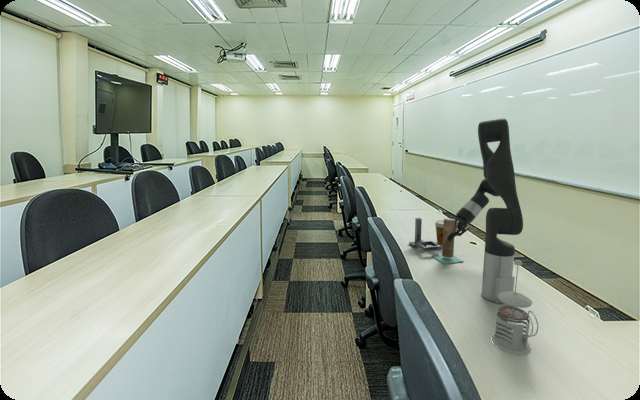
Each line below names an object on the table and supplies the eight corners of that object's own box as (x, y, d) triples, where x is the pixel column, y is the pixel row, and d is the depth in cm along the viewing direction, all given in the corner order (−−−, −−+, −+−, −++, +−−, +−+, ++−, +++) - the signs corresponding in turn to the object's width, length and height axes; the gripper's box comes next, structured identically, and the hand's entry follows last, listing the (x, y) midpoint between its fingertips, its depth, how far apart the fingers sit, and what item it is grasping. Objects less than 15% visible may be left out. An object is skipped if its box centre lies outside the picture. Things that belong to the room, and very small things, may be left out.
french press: (509, 330, 93) (517, 251, 88) (546, 355, 82) (557, 267, 77) (482, 336, 90) (488, 256, 86) (517, 363, 79) (526, 272, 75)
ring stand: (440, 254, 156) (442, 225, 153) (424, 256, 154) (425, 226, 151) (422, 243, 174) (423, 216, 171) (407, 244, 172) (408, 217, 169)
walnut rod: (455, 257, 147) (457, 220, 144) (445, 258, 146) (447, 221, 143) (449, 253, 152) (451, 218, 149) (440, 254, 151) (441, 218, 148)
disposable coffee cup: (453, 245, 168) (455, 224, 166) (435, 245, 170) (436, 224, 168) (450, 240, 177) (451, 220, 175) (432, 239, 179) (433, 219, 177)
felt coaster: (462, 262, 145) (463, 261, 145) (443, 264, 144) (443, 263, 144) (450, 254, 155) (450, 254, 155) (432, 256, 153) (432, 255, 153)
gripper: (455, 204, 153) (432, 229, 153) (474, 210, 139) (448, 238, 139) (464, 214, 155) (441, 238, 155) (483, 220, 141) (458, 248, 141)
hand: (444, 238), depth 147 cm, fingers closed on walnut rod, 5 cm apart
